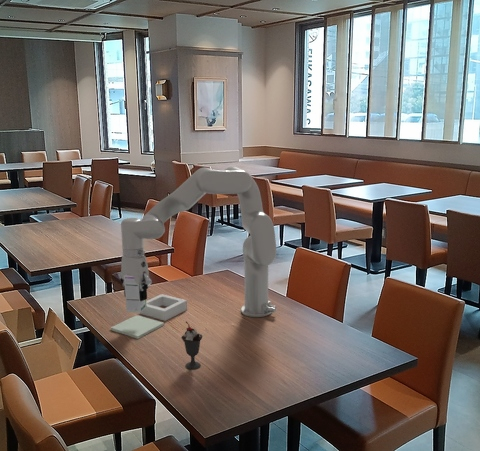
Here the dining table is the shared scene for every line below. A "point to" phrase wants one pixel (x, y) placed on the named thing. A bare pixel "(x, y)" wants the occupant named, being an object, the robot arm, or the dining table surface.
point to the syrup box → (133, 295)
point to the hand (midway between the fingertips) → (135, 297)
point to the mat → (137, 326)
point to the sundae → (192, 346)
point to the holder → (173, 308)
